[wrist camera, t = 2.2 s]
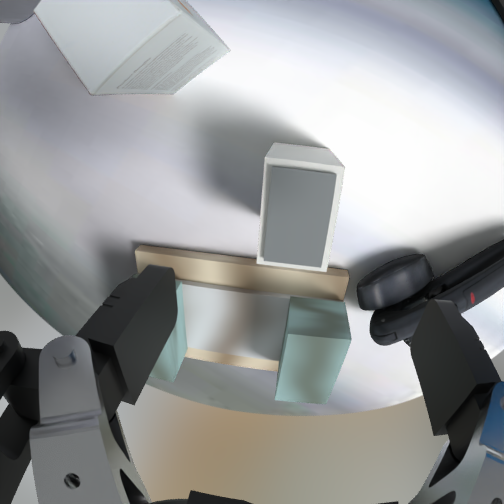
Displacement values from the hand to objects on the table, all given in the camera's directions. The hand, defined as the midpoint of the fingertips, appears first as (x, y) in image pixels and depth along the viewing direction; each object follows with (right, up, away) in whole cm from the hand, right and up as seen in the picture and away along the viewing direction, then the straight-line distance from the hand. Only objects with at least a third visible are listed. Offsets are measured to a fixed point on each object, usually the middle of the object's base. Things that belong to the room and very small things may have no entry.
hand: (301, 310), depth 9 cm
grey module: (+2, +7, +13) cm, 15 cm away
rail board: (-3, -4, +19) cm, 20 cm away
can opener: (+16, 0, +15) cm, 22 cm away
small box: (-7, +18, +9) cm, 21 cm away
